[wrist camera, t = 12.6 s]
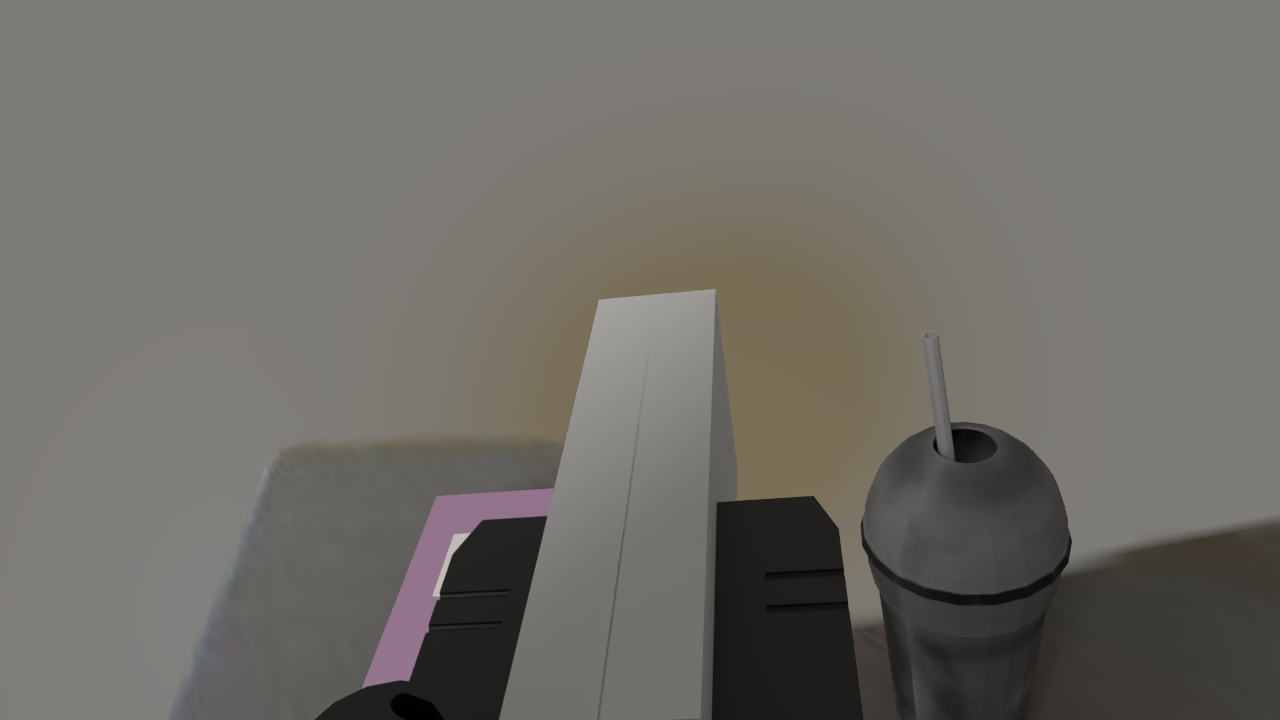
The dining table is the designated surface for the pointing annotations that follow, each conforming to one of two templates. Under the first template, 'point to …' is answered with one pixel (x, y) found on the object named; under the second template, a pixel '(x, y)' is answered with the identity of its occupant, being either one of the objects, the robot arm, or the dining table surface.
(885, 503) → the beverage cup
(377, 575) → the dining table surface
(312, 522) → the dining table surface
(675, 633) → the robot arm
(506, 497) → the box
